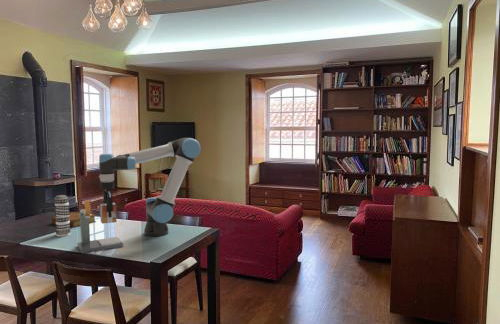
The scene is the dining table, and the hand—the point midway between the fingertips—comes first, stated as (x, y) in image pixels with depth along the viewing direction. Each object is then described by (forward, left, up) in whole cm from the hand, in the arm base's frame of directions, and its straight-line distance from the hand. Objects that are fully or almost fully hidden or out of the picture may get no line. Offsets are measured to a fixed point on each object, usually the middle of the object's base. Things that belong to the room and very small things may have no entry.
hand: (108, 221), depth 223 cm
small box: (0, 0, -1) cm, 1 cm away
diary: (+10, -69, -15) cm, 71 cm away
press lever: (+12, +1, +5) cm, 13 cm away
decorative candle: (+20, -40, -14) cm, 47 cm away
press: (+5, -1, -14) cm, 15 cm away
